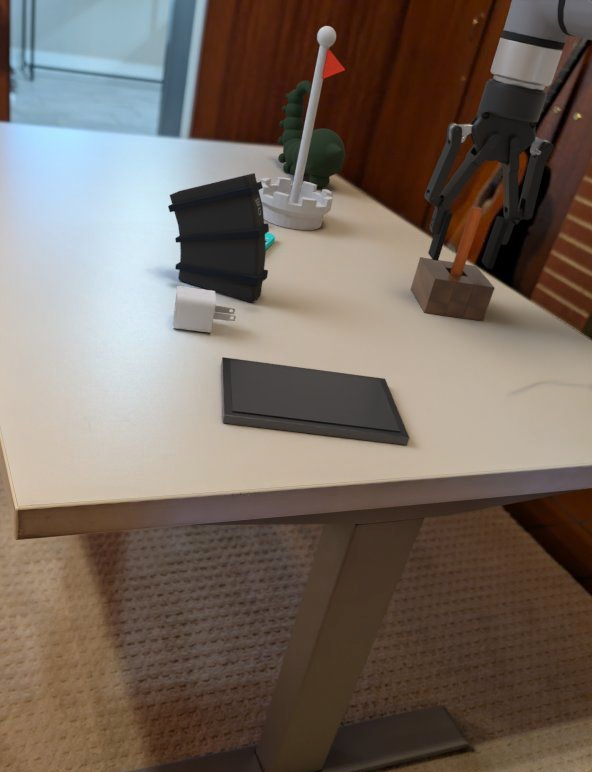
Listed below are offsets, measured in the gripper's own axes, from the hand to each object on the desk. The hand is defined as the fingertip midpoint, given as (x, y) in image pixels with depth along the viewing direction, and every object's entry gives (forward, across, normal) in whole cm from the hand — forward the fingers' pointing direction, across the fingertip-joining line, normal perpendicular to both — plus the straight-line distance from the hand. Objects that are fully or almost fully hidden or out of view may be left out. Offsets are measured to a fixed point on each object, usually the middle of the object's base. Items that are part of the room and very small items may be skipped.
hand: (460, 260), depth 105 cm
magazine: (+7, +34, +6) cm, 35 cm away
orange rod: (+7, 0, 0) cm, 7 cm away
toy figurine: (+7, +14, -63) cm, 65 cm away
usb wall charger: (+7, +35, +19) cm, 40 cm away
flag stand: (+7, +20, -31) cm, 38 cm away
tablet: (+7, +24, +34) cm, 42 cm away
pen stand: (+7, 0, 0) cm, 7 cm away
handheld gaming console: (+7, +30, -12) cm, 33 cm away
